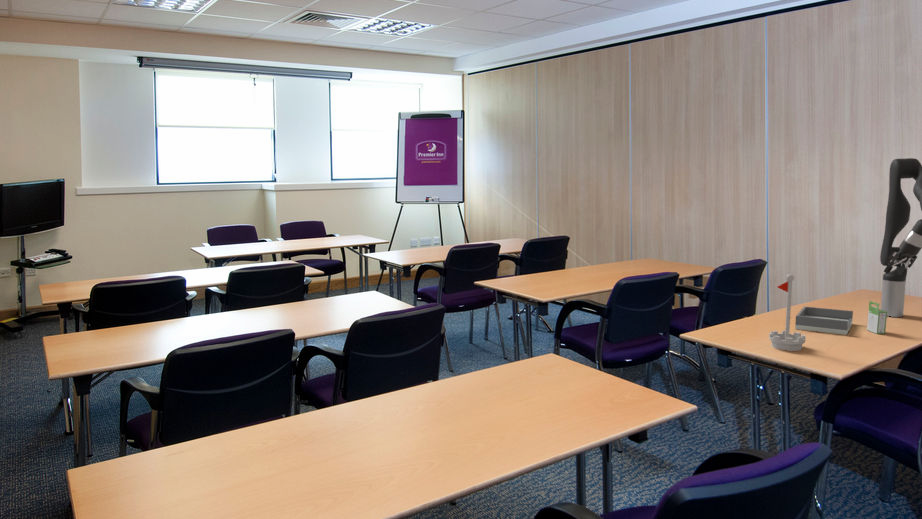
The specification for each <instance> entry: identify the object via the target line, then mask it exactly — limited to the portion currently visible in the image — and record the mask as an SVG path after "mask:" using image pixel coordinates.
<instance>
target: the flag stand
mask: <svg viewBox="0 0 922 519" xmlns="http://www.w3.org/2000/svg"><path fill="white" fill-rule="evenodd" d="M785 279H786V280H787V281H786V282H784V283H782V284H780V285H778V286H777V288H778V289H780V290H782V291H784V292H786V311H785V313H786V314H785V330H781V332H778V330H771V331H770V332H769V334H768V338H769V341H771V348H773V347H774V348H773V349H775V348H776V350H779V349H781V350H780V351H785V350H787V352H788V351H789V352H797V351H801V350H802V349H803V345H804V344H805V343H806V335H805V334H802V332H798V331H794V332H793V333H790V329H791V326H790V325H791V309H792V308H791V307H792V293H793V292H792V289H793V281H794V280H795V276H794V275H793V274H792V273H789V274H786V277H785Z"/></svg>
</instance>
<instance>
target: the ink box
mask: <svg viewBox="0 0 922 519" xmlns="http://www.w3.org/2000/svg"><path fill="white" fill-rule="evenodd" d="M873 305H875V306H873ZM887 319H888V316H887V312H886V311H883V310H881V308H880V303H878V302H875V301H872V300H869V301H868V313H867V326H866V330H867V331H869V332H871V333H874V334H877V335H885V334H886V330H887V321H888V320H887Z"/></svg>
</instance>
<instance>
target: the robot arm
mask: <svg viewBox="0 0 922 519" xmlns="http://www.w3.org/2000/svg"><path fill="white" fill-rule="evenodd" d="M888 176H889V180H888V181H889V182H888V200H887V206H886V214H885V225H884V235H883V239H882V245H881V249H880V257H879V259H880V264H881V265H882V266H884V267H885V268H884V270H883V272H884V273H883V275H882V284H881V285H882V286H881V287H882V288H881V300H880V310H883V311H886V312H887V317H889V316H891V317H892V318H902V316H903V317H904V308H905V297H906V296H905V295H906V282H907V281H906V280H907V275H908V268H909V269H910V268H911V267H912V266H913V265H914V263H915V261H916V260H917V259H918V254H919V253H920V251H921V250H922V219H918V220H917V221H916V222H915V224H914V225H913V227H912V228H911V229H910V231H909V232H908V233H907V234H906V236H905V237H904V239H903V240H902V242H901V243H900V245H899V246H894V242H895V239H896V238H897V236H898V235H899V234H900V233H901V232H902V230H903V229H905V227H906V226H907V225H908V223H909V222H910V218H911V210H912V209H911V205H910V203H909V200H908V198H907V197H906V195H905V194H904V192H903V190H902V181H901V180H902V179H904V180H905V179H913V180H915V182H914V185H913V189H912V190H913V191H912V192H913V194H914V197H915V198H916V200H917V201H918V202H919V206H920V210H921V212H922V164H921V162H920V160H919V159H917V158H912V157H910V158H894V159H893V160H891V163H890V166H889V174H888ZM894 267H896V268H894ZM893 268H894V269H893ZM891 317H890V318H891Z"/></svg>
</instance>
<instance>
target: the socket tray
mask: <svg viewBox="0 0 922 519" xmlns="http://www.w3.org/2000/svg"><path fill="white" fill-rule="evenodd" d="M853 316H854V310H847V309H846V310H844V309H835V308H825V307H823V308H822V307H813V306H812V307H811V306H803V307H802V308H801V309H800V311H799V312H798V313H797V314H796V315H795V325H794V329H795V330H798V331H799V330H800V331H808V332H816V331H817V332H818V333H819V332H820V333H827V334H835V335H836V334H837V335H844V336H847V335H848V334H849V332H848V331H850V330H851V327H852V326H853ZM817 332H816V333H817Z"/></svg>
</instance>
